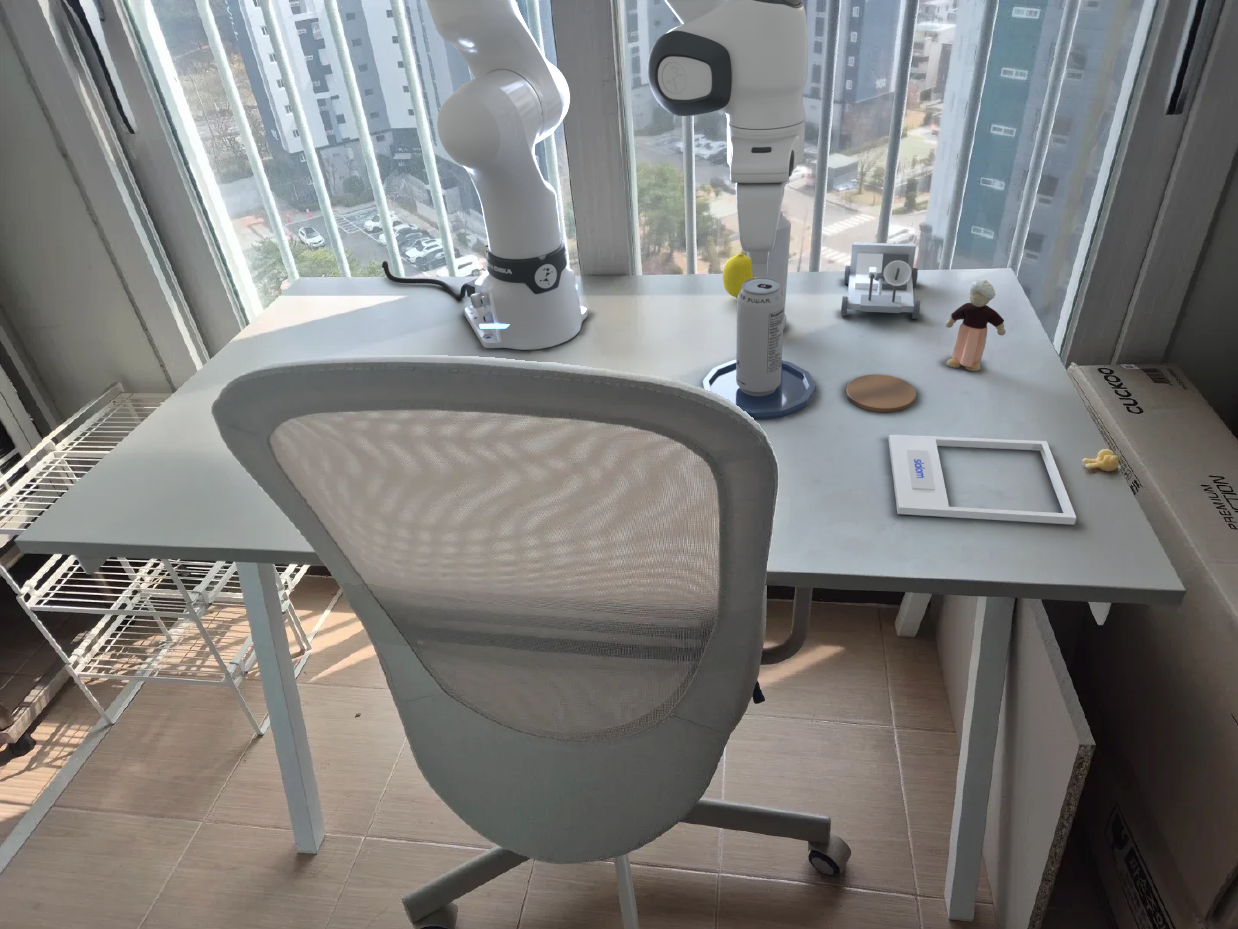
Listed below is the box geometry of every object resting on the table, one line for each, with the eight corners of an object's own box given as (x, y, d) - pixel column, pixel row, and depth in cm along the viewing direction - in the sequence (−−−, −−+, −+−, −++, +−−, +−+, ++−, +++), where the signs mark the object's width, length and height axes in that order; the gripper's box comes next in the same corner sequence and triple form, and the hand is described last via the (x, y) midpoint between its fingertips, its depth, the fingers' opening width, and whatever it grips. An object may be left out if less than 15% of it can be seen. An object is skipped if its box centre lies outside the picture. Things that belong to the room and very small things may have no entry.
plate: (681, 387, 120) (681, 379, 119) (764, 354, 126) (764, 347, 125) (750, 432, 109) (751, 424, 109) (837, 395, 115) (837, 387, 115)
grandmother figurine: (938, 369, 119) (952, 284, 112) (939, 356, 122) (953, 272, 115) (997, 375, 117) (1016, 288, 109) (997, 362, 120) (1015, 277, 112)
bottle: (785, 334, 131) (793, 169, 116) (751, 333, 132) (755, 169, 117) (786, 320, 135) (794, 158, 120) (753, 319, 136) (757, 158, 122)
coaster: (831, 392, 116) (832, 388, 116) (879, 371, 120) (879, 367, 119) (881, 419, 110) (882, 415, 109) (930, 397, 113) (930, 393, 113)
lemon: (723, 292, 145) (723, 247, 140) (756, 292, 144) (757, 246, 140) (721, 306, 140) (722, 260, 136) (756, 306, 140) (757, 259, 135)
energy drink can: (746, 372, 121) (748, 272, 112) (786, 381, 118) (792, 279, 109) (728, 392, 117) (729, 290, 108) (770, 402, 114) (774, 297, 105)
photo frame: (889, 433, 105) (1047, 439, 101) (888, 440, 105) (1044, 447, 102) (898, 505, 93) (1076, 516, 90) (897, 513, 94) (1074, 524, 90)
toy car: (927, 268, 123) (845, 266, 126) (918, 330, 129) (839, 326, 132) (923, 224, 138) (849, 223, 140) (915, 281, 143) (844, 279, 146)
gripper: (746, 123, 108) (746, 230, 116) (728, 172, 92) (728, 292, 99) (797, 122, 106) (793, 230, 114) (788, 171, 90) (783, 293, 98)
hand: (763, 259), depth 107 cm, fingers open, 8 cm apart
